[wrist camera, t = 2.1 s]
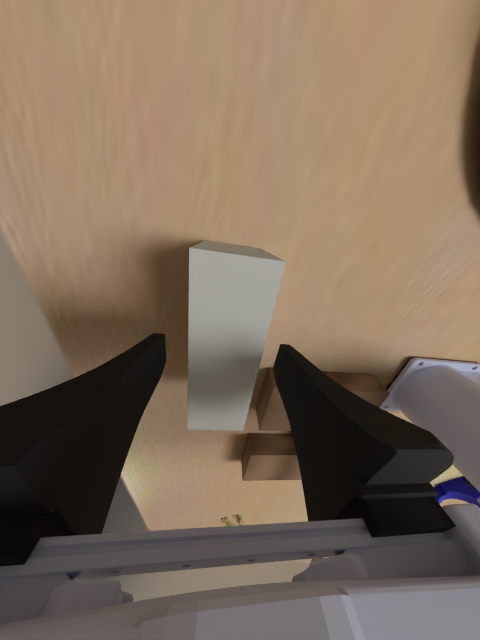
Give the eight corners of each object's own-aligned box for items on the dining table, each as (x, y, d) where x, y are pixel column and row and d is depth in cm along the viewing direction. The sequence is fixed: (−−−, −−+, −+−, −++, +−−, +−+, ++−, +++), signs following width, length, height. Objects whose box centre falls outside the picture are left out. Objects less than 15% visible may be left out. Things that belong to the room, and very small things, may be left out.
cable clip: (469, 473, 35) (513, 517, 30) (468, 481, 37) (509, 523, 32) (408, 491, 37) (438, 534, 32) (410, 497, 39) (439, 539, 34)
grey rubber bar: (260, 248, 13) (285, 261, 7) (238, 371, 18) (243, 430, 13) (205, 240, 12) (189, 247, 7) (199, 369, 18) (187, 429, 12)
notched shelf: (371, 374, 19) (390, 393, 17) (315, 459, 27) (323, 479, 25) (268, 367, 18) (273, 387, 16) (241, 459, 26) (242, 480, 24)
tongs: (242, 529, 43) (243, 542, 41) (220, 510, 37) (220, 523, 36) (258, 525, 42) (259, 538, 40) (238, 505, 37) (238, 519, 35)
